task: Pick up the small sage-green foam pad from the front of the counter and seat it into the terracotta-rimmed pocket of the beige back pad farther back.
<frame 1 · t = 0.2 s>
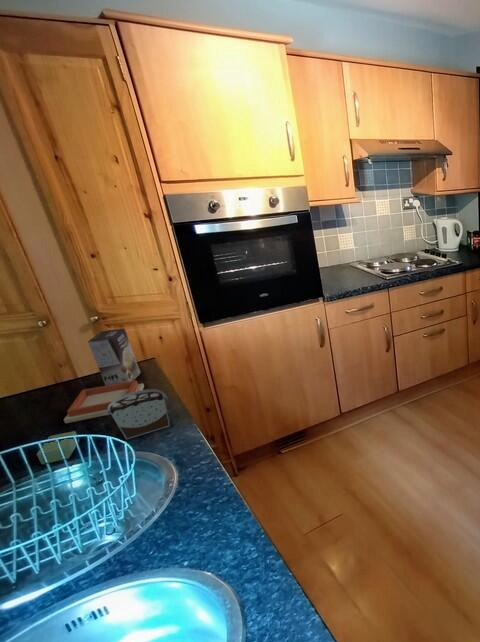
food container: (148, 428, 121), on the worktop
green pad: (61, 452, 112), on the worktop
coffee box: (124, 381, 145), on the worktop
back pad: (107, 403, 132), on the worktop
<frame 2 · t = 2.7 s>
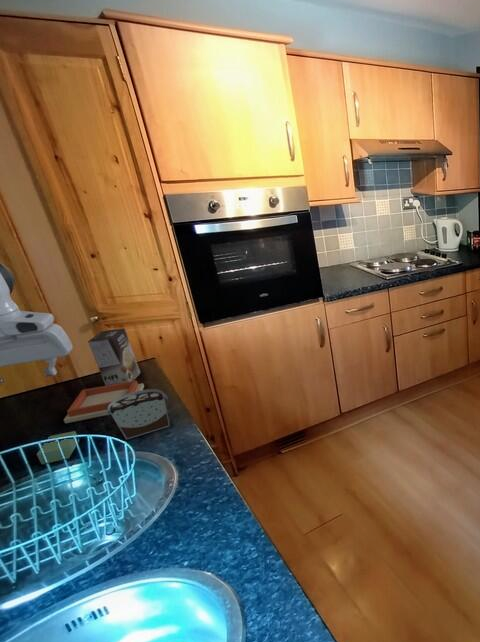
hand: (25, 379, 106), 19 cm above the worktop, tool pointing down, fingers open, 8 cm apart
nothing on the worktop moved.
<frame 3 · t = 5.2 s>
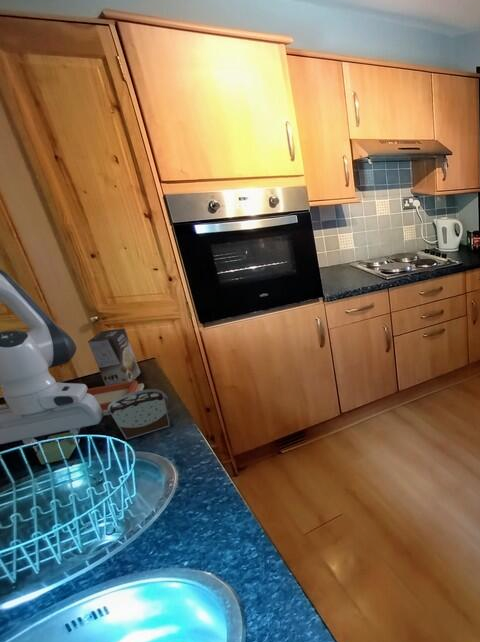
hand: (58, 446, 111), 2 cm above the worktop, tool pointing down, fingers closed on green pad, 5 cm apart
green pad: (61, 452, 112), on the worktop, touching gripper
everything else where it was.
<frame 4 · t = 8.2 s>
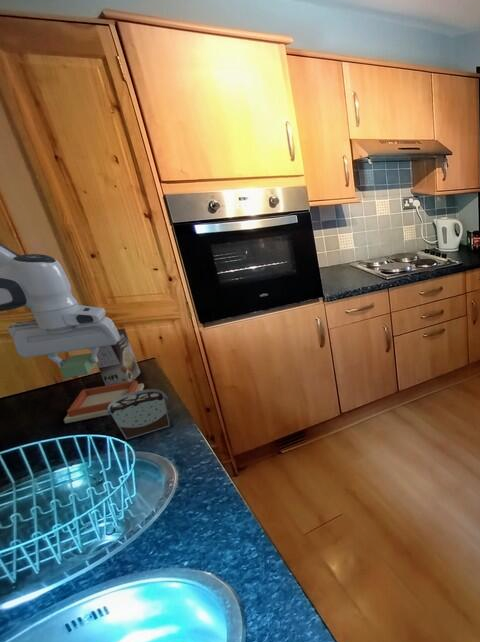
hand: (79, 364, 122), 15 cm above the worktop, tool pointing down, fingers closed on green pad, 5 cm apart
green pad: (81, 369, 123), point 13 cm above the worktop, touching gripper
everything else where it was.
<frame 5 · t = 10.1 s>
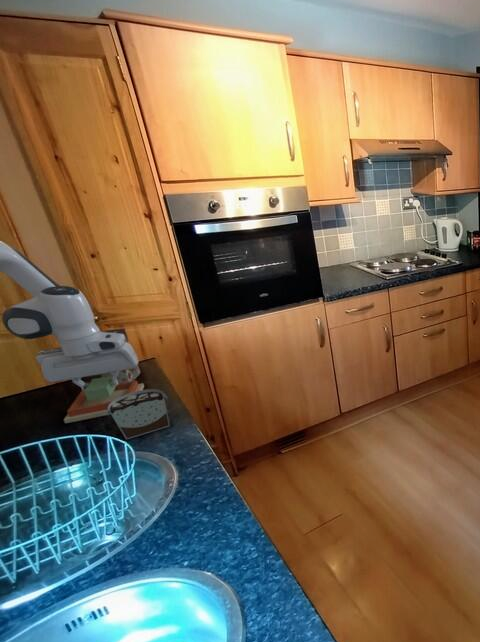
hand: (101, 387, 130), 5 cm above the worktop, tool pointing down, fingers closed on green pad, 5 cm apart
green pad: (103, 392, 131), point 4 cm above the worktop, touching gripper
everything else where it was.
when the fingers open (3 cm above the worktop, at t = 11.4 s): green pad stays where it is, resting on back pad.
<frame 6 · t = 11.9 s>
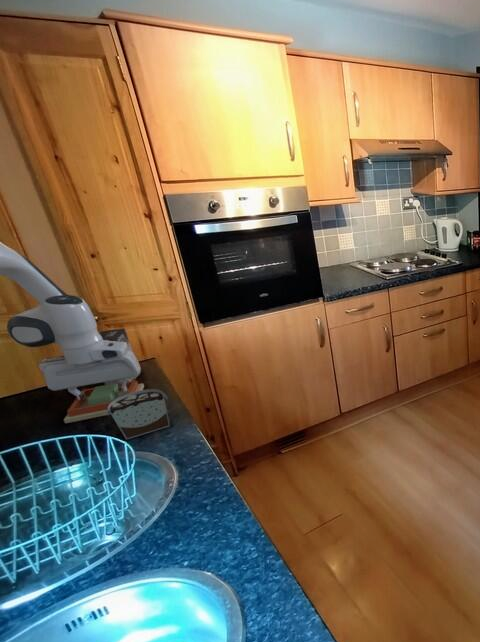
hand: (103, 395, 131), 3 cm above the worktop, tool pointing down, fingers open, 8 cm apart
green pad: (106, 400, 132), point 1 cm above the worktop, touching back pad
everything else where it was.
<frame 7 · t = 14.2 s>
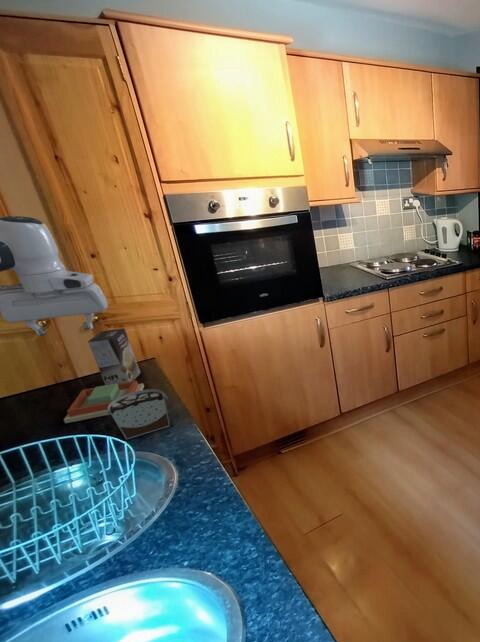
hand: (66, 331, 120), 24 cm above the worktop, tool pointing down, fingers open, 8 cm apart
nothing on the worktop moved.
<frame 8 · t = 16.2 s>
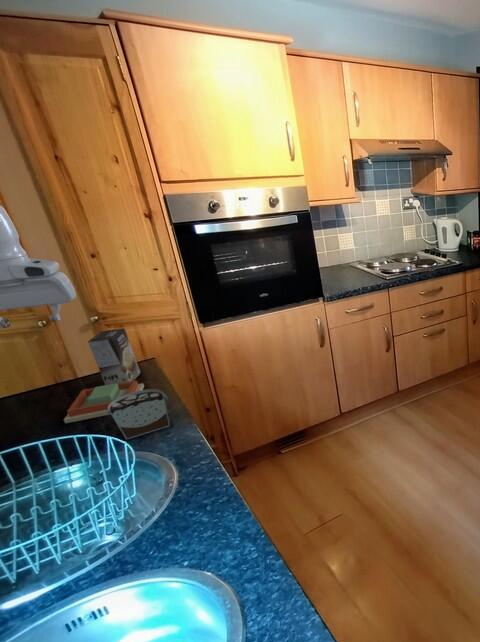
hand: (31, 323, 112), 29 cm above the worktop, tool pointing down, fingers open, 8 cm apart
nothing on the worktop moved.
at the end: green pad 0.1 cm off-centre on the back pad, point 1.2 cm above the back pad's base; green pad tilted 0°; the gripper is holding nothing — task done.
